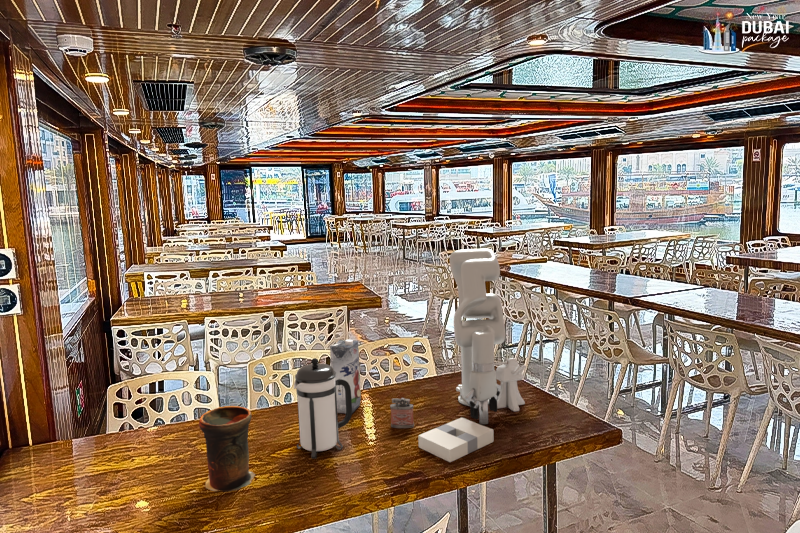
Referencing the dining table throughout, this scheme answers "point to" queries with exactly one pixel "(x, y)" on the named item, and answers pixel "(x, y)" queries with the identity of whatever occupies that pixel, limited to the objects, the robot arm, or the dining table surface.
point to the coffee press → (319, 407)
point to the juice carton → (346, 372)
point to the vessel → (227, 447)
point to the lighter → (401, 413)
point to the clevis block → (455, 439)
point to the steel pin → (483, 411)
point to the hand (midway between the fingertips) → (484, 414)
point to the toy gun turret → (509, 384)
